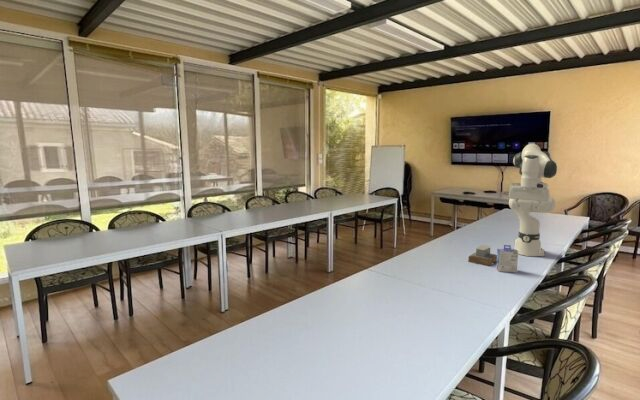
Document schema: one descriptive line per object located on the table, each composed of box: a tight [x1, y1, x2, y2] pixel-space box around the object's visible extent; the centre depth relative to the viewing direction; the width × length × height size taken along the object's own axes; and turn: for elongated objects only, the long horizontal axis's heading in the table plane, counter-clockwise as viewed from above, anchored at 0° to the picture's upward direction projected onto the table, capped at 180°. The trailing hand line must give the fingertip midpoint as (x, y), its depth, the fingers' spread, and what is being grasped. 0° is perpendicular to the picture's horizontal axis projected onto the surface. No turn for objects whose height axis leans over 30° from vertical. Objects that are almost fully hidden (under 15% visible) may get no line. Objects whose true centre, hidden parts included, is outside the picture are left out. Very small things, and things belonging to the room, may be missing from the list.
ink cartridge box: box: [496, 244, 519, 273], centre depth 198 cm, size 10×6×14 cm, turn 78°
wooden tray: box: [468, 251, 497, 267], centre depth 215 cm, size 14×12×4 cm
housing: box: [475, 244, 491, 257], centre depth 215 cm, size 5×9×5 cm, turn 134°
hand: (527, 207), depth 200 cm, fingers open, 8 cm apart
